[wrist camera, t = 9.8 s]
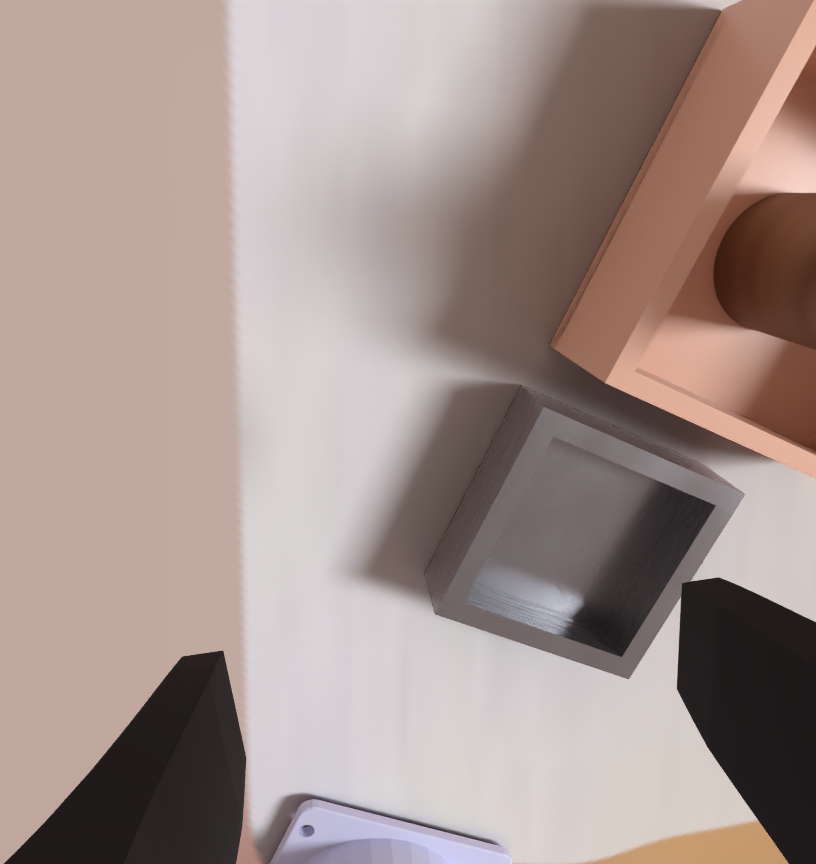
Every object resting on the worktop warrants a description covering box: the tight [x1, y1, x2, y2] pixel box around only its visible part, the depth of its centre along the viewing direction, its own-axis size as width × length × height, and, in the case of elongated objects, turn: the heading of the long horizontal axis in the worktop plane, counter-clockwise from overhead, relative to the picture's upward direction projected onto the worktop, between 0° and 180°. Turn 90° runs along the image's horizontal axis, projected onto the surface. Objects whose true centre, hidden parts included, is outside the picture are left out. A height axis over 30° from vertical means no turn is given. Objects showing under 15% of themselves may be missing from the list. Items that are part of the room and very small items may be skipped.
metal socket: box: [424, 385, 745, 679], centre depth 20 cm, size 6×6×2 cm
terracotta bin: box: [549, 0, 816, 479], centre depth 17 cm, size 9×9×4 cm
